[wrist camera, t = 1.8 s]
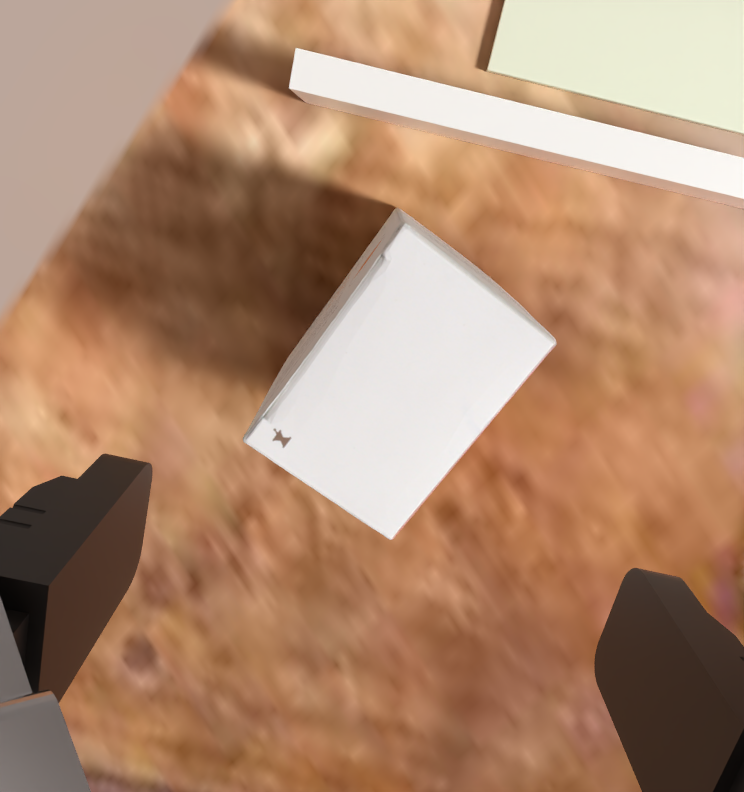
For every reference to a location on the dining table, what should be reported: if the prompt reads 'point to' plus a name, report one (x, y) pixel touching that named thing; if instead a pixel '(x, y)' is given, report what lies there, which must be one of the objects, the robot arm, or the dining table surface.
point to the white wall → (517, 128)
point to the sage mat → (631, 54)
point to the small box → (397, 376)
